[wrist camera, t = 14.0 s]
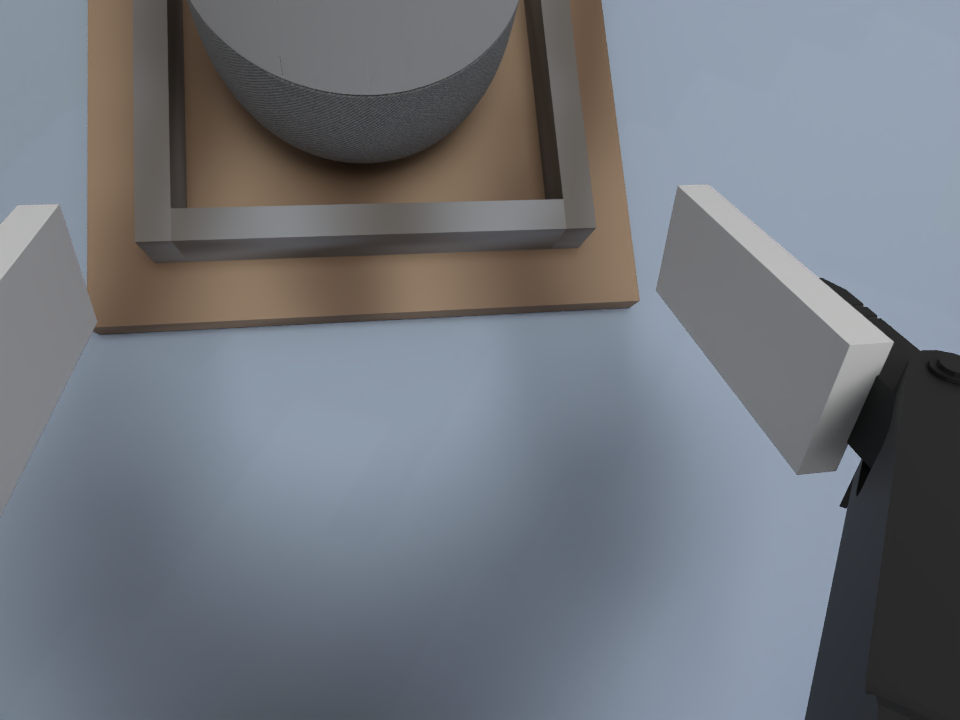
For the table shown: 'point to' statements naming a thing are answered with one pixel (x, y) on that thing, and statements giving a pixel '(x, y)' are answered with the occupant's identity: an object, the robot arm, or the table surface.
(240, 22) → the smart speaker
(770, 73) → the table surface
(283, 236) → the walnut stand
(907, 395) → the robot arm
